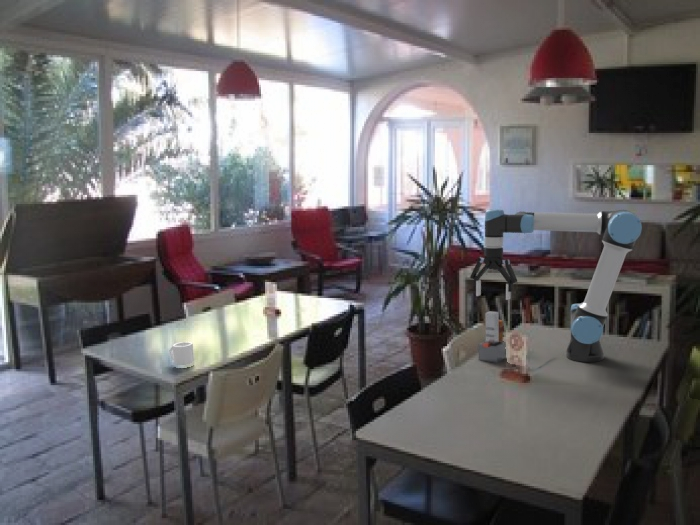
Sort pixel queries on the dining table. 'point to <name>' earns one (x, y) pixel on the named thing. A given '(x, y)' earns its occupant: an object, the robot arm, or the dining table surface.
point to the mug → (501, 330)
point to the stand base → (492, 352)
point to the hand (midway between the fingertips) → (493, 297)
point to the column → (492, 328)
